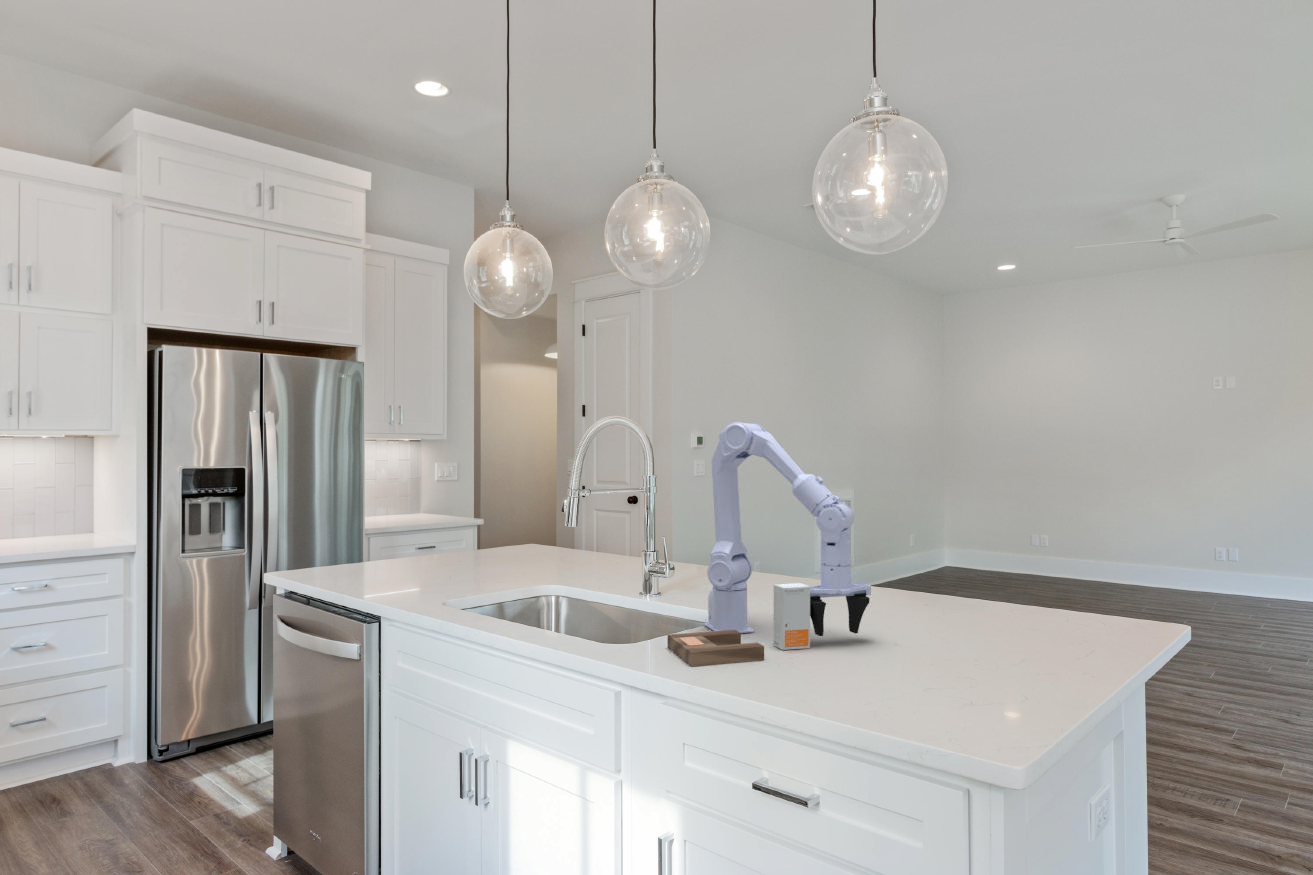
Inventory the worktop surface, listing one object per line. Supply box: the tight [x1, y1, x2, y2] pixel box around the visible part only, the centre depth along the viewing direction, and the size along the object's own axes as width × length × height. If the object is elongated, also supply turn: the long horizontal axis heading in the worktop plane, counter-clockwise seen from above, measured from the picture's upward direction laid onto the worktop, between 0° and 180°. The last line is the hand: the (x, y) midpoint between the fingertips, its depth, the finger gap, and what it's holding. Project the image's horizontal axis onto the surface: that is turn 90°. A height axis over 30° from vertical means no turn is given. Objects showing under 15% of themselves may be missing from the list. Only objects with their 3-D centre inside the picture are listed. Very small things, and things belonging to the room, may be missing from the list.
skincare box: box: [773, 582, 811, 651], centre depth 151 cm, size 6×4×12 cm
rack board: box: [667, 630, 765, 668], centre depth 146 cm, size 14×14×3 cm
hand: (836, 633), depth 153 cm, fingers open, 7 cm apart
